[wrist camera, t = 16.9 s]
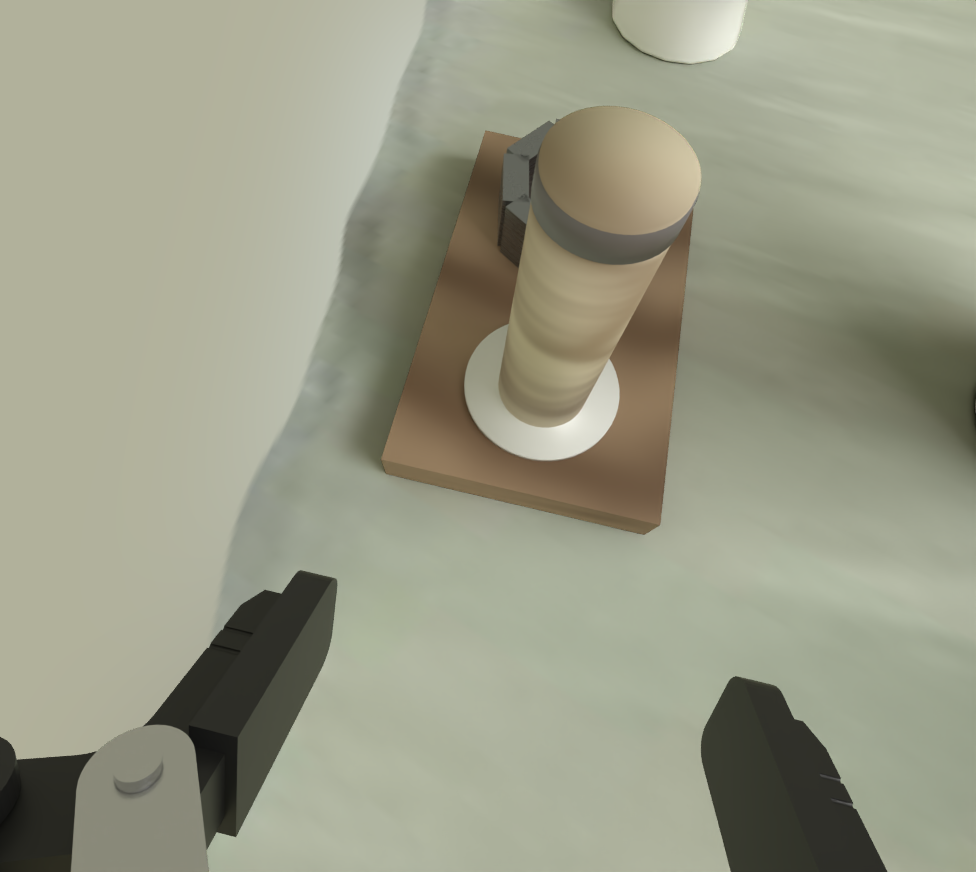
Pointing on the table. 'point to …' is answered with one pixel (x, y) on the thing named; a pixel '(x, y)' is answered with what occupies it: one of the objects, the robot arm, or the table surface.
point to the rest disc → (523, 436)
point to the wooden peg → (590, 252)
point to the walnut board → (487, 307)
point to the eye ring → (517, 192)
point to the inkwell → (681, 27)
